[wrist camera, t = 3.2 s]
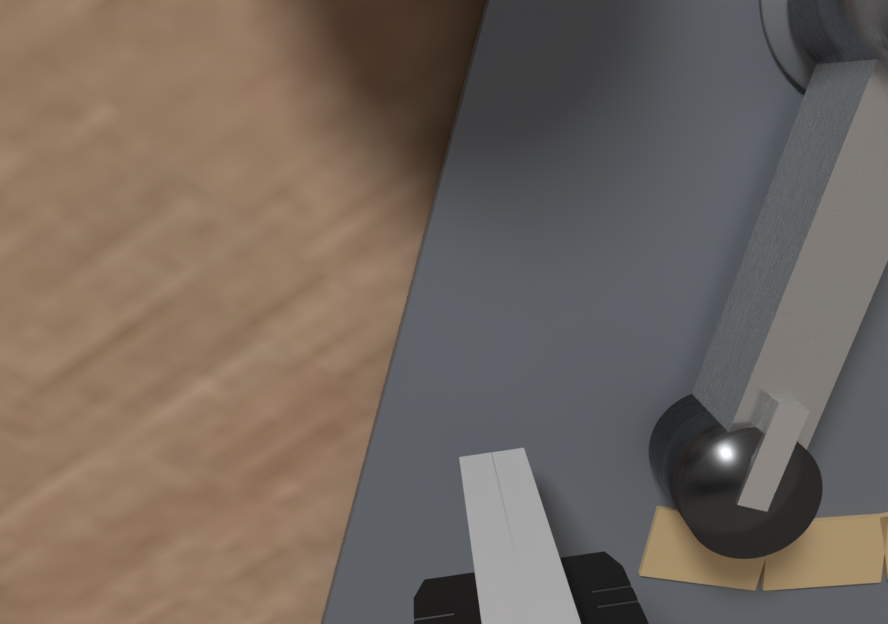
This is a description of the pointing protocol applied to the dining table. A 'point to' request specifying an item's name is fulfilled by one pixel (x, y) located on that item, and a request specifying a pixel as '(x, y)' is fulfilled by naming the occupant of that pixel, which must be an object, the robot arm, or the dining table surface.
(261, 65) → the dining table surface
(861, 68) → the needle lever
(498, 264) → the dial board
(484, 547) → the robot arm
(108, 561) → the dining table surface
